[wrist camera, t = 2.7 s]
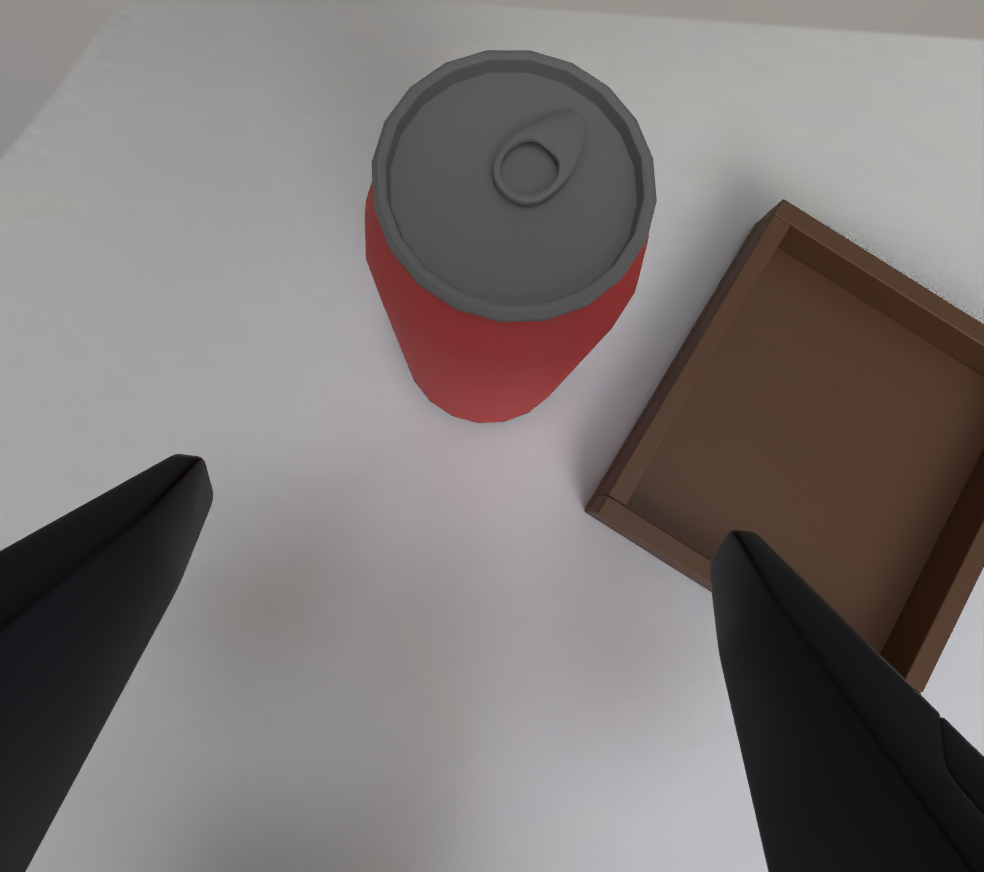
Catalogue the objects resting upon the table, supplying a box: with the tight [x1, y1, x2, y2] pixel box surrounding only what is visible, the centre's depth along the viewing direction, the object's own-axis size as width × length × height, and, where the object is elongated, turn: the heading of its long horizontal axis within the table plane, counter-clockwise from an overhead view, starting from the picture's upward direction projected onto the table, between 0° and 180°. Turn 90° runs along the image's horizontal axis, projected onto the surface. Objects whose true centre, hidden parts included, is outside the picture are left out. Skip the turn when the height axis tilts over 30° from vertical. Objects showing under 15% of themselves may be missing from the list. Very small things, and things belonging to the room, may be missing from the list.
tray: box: [585, 199, 984, 695], centre depth 22 cm, size 15×14×2 cm
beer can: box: [365, 50, 657, 423], centre depth 16 cm, size 7×7×12 cm
